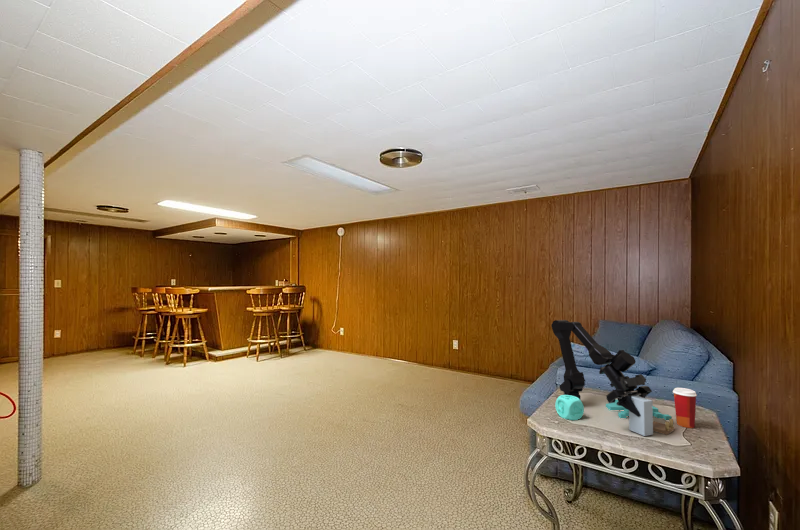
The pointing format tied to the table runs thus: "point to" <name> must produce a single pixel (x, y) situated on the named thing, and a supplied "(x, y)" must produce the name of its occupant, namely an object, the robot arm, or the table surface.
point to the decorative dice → (569, 407)
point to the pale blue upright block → (642, 416)
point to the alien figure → (626, 412)
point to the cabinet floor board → (663, 427)
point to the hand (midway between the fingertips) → (644, 415)
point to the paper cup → (685, 407)
